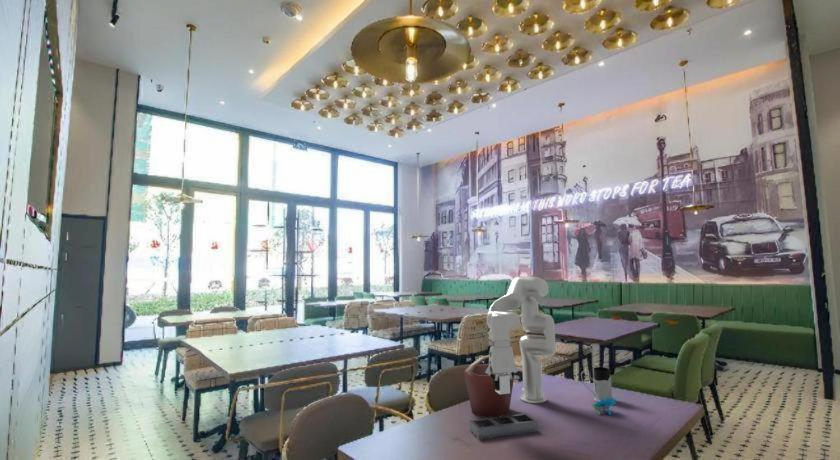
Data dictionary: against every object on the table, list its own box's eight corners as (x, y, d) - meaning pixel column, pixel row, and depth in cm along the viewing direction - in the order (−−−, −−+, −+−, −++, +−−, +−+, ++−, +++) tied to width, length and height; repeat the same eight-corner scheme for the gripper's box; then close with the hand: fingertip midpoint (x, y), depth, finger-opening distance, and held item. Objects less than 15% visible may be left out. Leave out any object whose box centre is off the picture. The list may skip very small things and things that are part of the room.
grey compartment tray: (478, 439, 152) (478, 428, 152) (469, 430, 161) (469, 420, 161) (538, 431, 159) (537, 421, 159) (526, 423, 167) (526, 413, 168)
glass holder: (615, 403, 189) (612, 371, 191) (583, 401, 193) (581, 370, 195) (611, 397, 198) (609, 367, 199) (581, 395, 202) (579, 365, 203)
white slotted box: (495, 391, 163) (494, 373, 164) (505, 390, 164) (504, 372, 165) (500, 394, 158) (499, 375, 159) (510, 393, 160) (509, 374, 160)
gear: (612, 405, 182) (617, 394, 176) (618, 417, 178) (623, 407, 172) (589, 409, 182) (592, 398, 176) (595, 421, 178) (599, 411, 171)
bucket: (502, 400, 197) (500, 349, 199) (527, 415, 176) (524, 358, 178) (457, 406, 189) (456, 353, 192) (477, 423, 168) (475, 363, 171)
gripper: (486, 346, 158) (487, 393, 156) (523, 344, 162) (525, 390, 160) (478, 343, 165) (479, 388, 163) (514, 341, 169) (516, 385, 167)
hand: (502, 388), depth 161 cm, fingers closed on white slotted box, 4 cm apart
